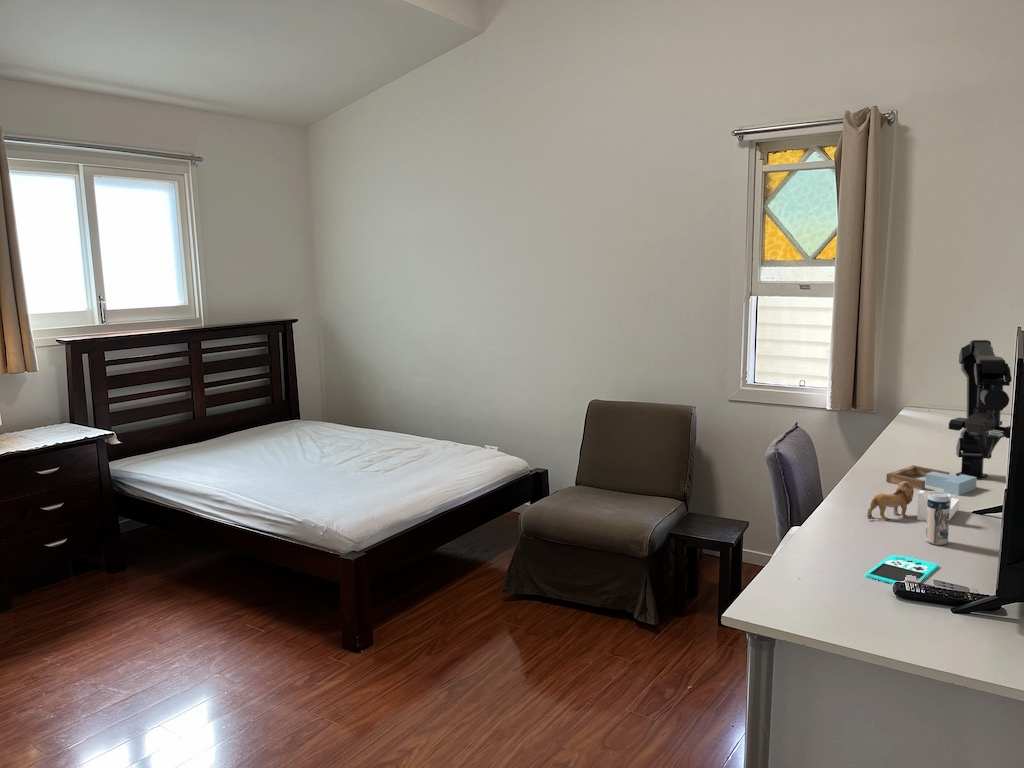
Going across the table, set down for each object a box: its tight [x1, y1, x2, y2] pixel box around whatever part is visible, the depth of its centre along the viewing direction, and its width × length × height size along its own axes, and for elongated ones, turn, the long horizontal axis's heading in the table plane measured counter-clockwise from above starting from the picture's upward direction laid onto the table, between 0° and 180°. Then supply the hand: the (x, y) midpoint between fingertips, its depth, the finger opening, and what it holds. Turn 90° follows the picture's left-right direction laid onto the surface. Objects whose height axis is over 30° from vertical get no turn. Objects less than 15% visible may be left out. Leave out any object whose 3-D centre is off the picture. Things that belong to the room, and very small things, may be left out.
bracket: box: [916, 489, 960, 522], centre depth 199 cm, size 13×7×8 cm, turn 139°
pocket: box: [885, 465, 950, 491], centre depth 229 cm, size 15×11×2 cm
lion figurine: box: [866, 481, 915, 521], centre depth 199 cm, size 15×5×9 cm, turn 111°
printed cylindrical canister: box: [925, 491, 950, 546], centre depth 180 cm, size 5×5×12 cm
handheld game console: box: [864, 554, 939, 585], centre depth 165 cm, size 10×16×1 cm, turn 133°
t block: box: [925, 471, 978, 496], centre depth 222 cm, size 10×11×4 cm
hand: (985, 457), depth 212 cm, fingers closed
